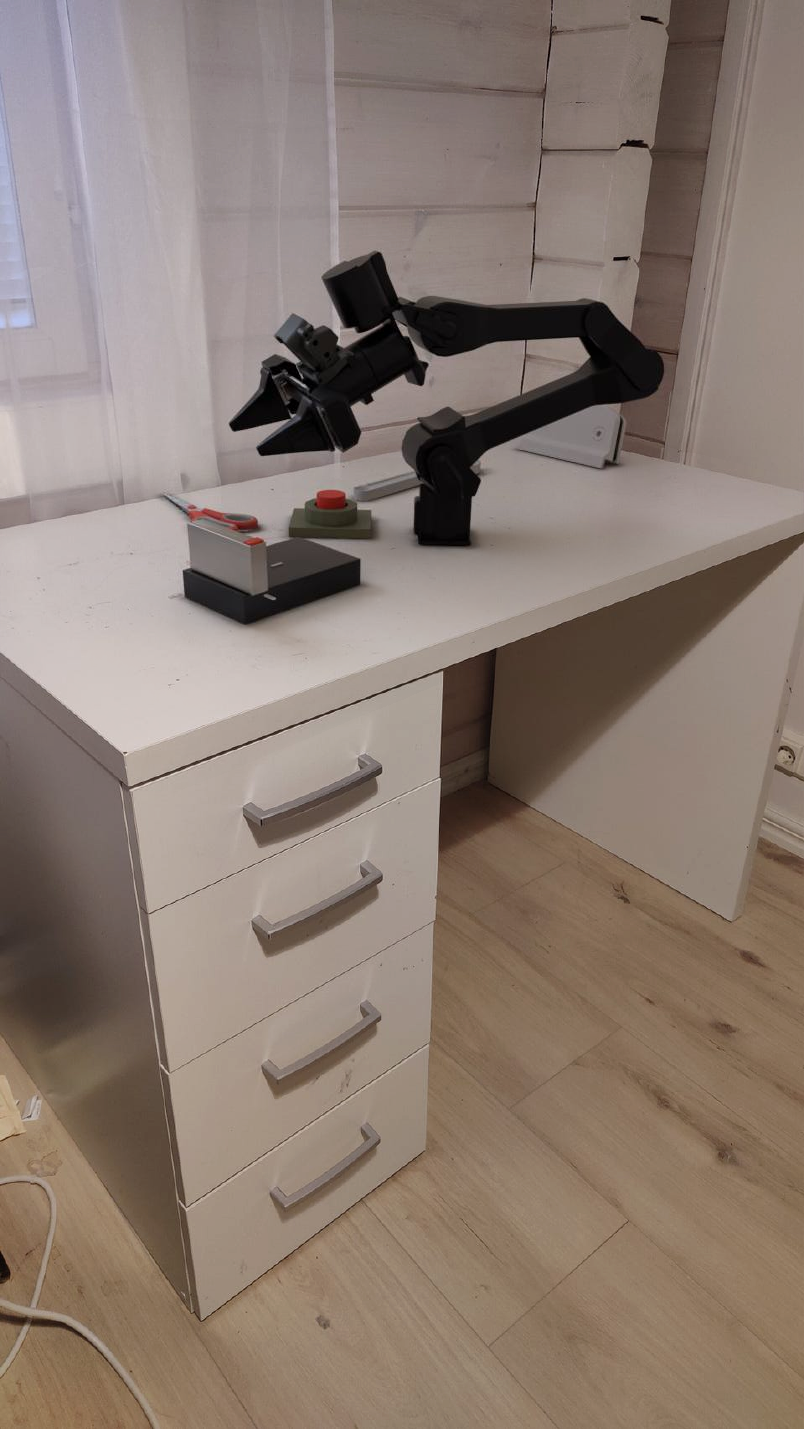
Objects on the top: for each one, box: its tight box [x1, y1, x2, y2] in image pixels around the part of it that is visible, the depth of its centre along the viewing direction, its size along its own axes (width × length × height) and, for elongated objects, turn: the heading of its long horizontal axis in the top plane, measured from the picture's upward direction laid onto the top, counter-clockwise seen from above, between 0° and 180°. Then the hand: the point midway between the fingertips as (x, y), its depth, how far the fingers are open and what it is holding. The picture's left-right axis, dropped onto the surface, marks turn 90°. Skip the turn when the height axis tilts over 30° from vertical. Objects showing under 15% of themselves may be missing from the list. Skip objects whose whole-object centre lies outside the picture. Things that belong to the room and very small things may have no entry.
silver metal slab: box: [186, 519, 268, 596], centre depth 100 cm, size 10×2×5 cm, turn 47°
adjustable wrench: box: [352, 458, 482, 502], centre depth 146 cm, size 25×6×2 cm, turn 133°
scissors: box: [162, 492, 259, 532], centre depth 129 cm, size 8×21×2 cm, turn 48°
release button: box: [316, 489, 347, 509], centre depth 125 cm, size 4×4×2 cm
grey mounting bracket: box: [518, 405, 627, 469], centre depth 161 cm, size 17×5×10 cm, turn 47°
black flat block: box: [168, 537, 362, 625], centre depth 105 cm, size 14×22×3 cm, turn 137°
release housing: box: [288, 497, 373, 539], centre depth 126 cm, size 10×8×3 cm
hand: (243, 439), depth 110 cm, fingers open, 9 cm apart
